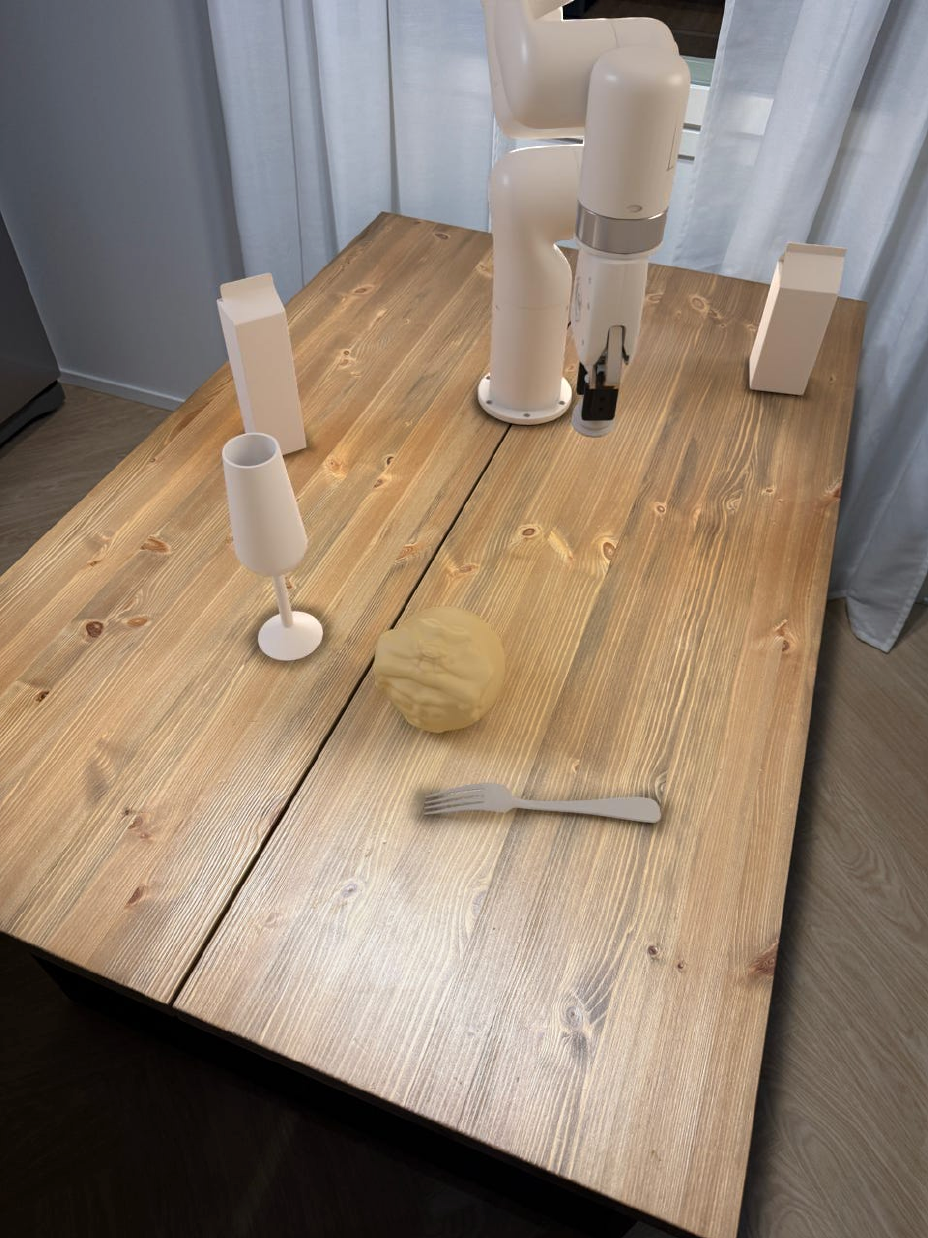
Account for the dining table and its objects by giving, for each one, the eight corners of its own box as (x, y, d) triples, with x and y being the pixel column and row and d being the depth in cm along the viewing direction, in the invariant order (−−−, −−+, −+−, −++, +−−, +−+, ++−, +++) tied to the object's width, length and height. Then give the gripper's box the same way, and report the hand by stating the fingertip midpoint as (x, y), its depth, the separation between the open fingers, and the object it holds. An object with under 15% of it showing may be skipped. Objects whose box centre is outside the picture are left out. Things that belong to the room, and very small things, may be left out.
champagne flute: (270, 669, 89) (223, 485, 71) (248, 624, 93) (199, 438, 75) (332, 646, 91) (303, 461, 73) (309, 603, 95) (275, 417, 77)
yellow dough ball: (363, 728, 85) (353, 657, 77) (415, 638, 92) (411, 565, 84) (475, 767, 82) (477, 699, 74) (519, 672, 89) (525, 599, 81)
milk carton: (802, 396, 121) (849, 262, 106) (749, 390, 121) (788, 255, 107) (800, 367, 125) (845, 234, 111) (748, 361, 126) (786, 228, 112)
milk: (307, 448, 112) (283, 284, 96) (261, 462, 110) (229, 298, 94) (288, 422, 116) (262, 259, 99) (244, 435, 114) (210, 272, 97)
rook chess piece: (619, 419, 91) (631, 350, 85) (607, 444, 88) (618, 374, 82) (578, 408, 92) (586, 339, 86) (564, 433, 89) (572, 363, 83)
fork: (654, 839, 80) (663, 824, 78) (423, 820, 78) (426, 804, 76) (650, 811, 82) (659, 796, 80) (425, 791, 80) (428, 776, 78)
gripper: (565, 180, 80) (549, 359, 94) (587, 270, 69) (565, 459, 83) (648, 180, 80) (620, 359, 94) (683, 270, 69) (645, 458, 83)
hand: (594, 404), depth 88 cm, fingers closed on rook chess piece, 3 cm apart
